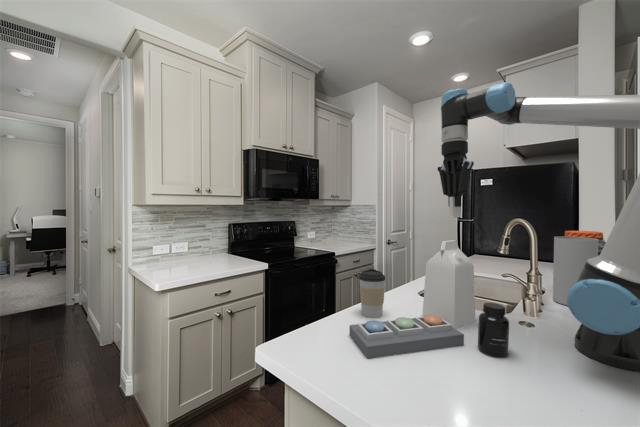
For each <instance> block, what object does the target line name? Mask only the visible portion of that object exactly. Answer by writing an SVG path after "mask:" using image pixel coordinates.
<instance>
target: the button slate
mask: <svg viewBox="0 0 640 427" xmlns="http://www.w3.org/2000/svg"><path fill="white" fill-rule="evenodd" d="M380 321H381V320H375V319H373V320H372V319H371V320H368V321H366V322H365V323H366V330H367V331H368V332H369V333H377V332H384V323H382V322H383V321H382V322H380Z"/></svg>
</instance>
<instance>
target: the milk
mask: <svg viewBox="0 0 640 427" xmlns="http://www.w3.org/2000/svg"><path fill="white" fill-rule="evenodd" d="M424 275H425V276H424V288H423V302H422V303H423V304H422V315H421V317H424V316H425V315H437V316H440V317H441V318H442V319H443V320H445V321H447V322H448V323H450V324H452V327H453V328H455V329H456V330H458V329H459V328H461V327H463V326H466V325H469V324H471V323H473V322H476V319H477V318H476V299H475V298H476V295H475V294H476V292H475V291H476V290H475V268H474V264H473V262H472V260H471V259H470V258H469V257H468V256H467V255H466V254H465V253H464V251H462V250H461V249H460V248H459V245H458V242H457V240H456V239H454V240H452V239H451V240H442V241H441V246H440V250H439V251H437V252H436V253H435V254H434V255H433V256H432V257H430V258H429V259H428V260H427V262H426V263H425V274H424Z"/></svg>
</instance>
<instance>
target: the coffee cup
mask: <svg viewBox="0 0 640 427" xmlns="http://www.w3.org/2000/svg"><path fill="white" fill-rule="evenodd" d="M358 276H359V277H358V279H359V295H360V303H361V304H360V305H361V315H362V316H363V317H366V318H371V319H377V318H381V317H382V316H383V309H384V306H383V305H384V303H385V302H384V301H385V290H386V286H385V282H386V275H385V274H383V272H382V271H379V270H376V268H375V269H373V268H369V269H366V270H363V271H362V272H361V273H360V274H359V275H358Z"/></svg>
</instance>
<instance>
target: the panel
mask: <svg viewBox="0 0 640 427" xmlns="http://www.w3.org/2000/svg"><path fill="white" fill-rule="evenodd" d="M408 318H409V319H412V320H413V321H414V328H411V329H403V330H401V329H399V328H398V327H397V326H395V320H396V319H388V320H386V321H381V320H379V321H380V322H382V323H384V332H377V333H369V332H368V331H367V330H366V322H362V323H361V322H360V323H357V324H350V325H349V337H350V336H351V337H350V338H351V339H352V341H353V340H354V341H353V342H354V343H355V345H356V344H357V345H356V346H357V347H358V348H359V350H360V351H361V352H362V354H363V355H364V357H366V359H367V360H368V359H374V358H382V357H388V355H390V356H395V355H394V354H397V355H402V354H403V353H404V354H410V353H416V352H417V353H418V352H426V351H432V350H433V351H434V350H439V349H444V348H445V349H446V348H452V347H453V348H455V347H459V346H465V334H464V333H463V332H461V331H460V330H458V329H455V328H453V327H452V324H450V323H448V322H447V321H445V320H443V319H442V325H437V326H429V325H428V324H426V323H425V322H424V317H422V316H417V317H416V316H415V317H413V318H410V317H408Z"/></svg>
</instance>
